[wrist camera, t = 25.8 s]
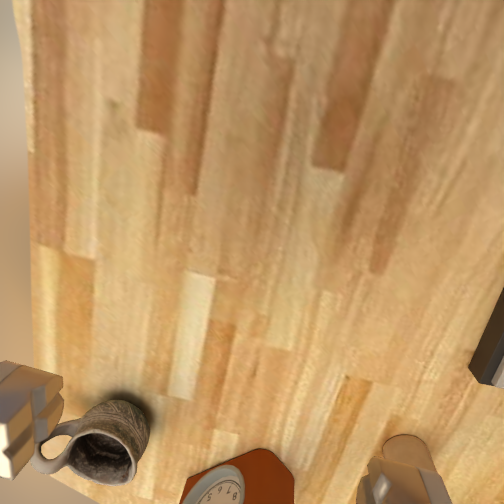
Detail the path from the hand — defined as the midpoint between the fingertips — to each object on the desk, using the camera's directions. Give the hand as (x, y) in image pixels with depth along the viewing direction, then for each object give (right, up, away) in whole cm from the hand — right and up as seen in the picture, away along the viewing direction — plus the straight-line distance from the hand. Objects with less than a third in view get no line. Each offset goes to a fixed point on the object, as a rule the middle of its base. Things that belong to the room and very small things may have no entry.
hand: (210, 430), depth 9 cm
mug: (-18, -18, +39) cm, 47 cm away
